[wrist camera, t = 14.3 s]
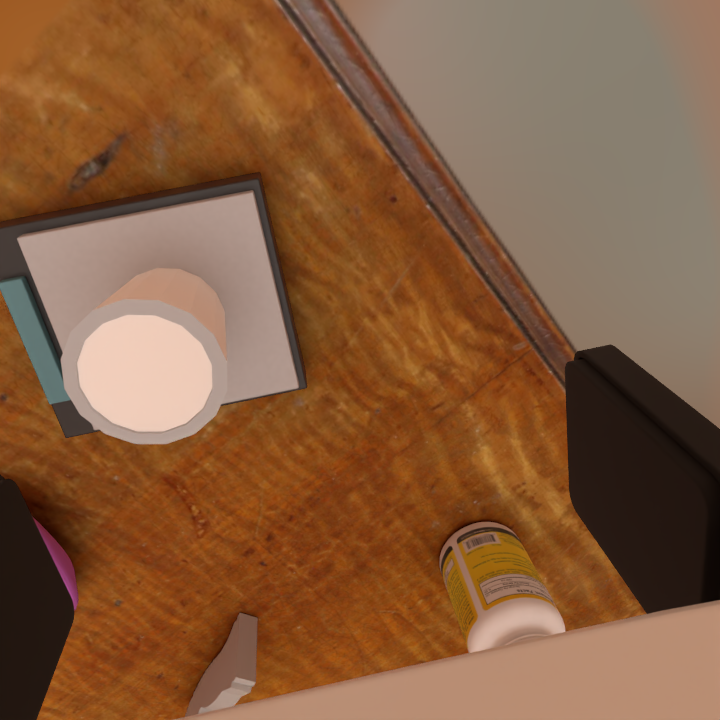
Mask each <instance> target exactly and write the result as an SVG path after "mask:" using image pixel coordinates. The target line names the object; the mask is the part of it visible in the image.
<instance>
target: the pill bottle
mask: <svg viewBox="0 0 720 720" xmlns="http://www.w3.org/2000/svg"><path fill="white" fill-rule="evenodd" d="M439 562H440V570H441V573H442V577H443V579H444V583H445V585H446V588H447V591H448V594H449V597H450V600H451V603H452V605H453V608H454V611H455V614H456V617H457V620H458V623H459V625H460V628H461V631H462V634H463V637H464V640H465V643H466V646H467V649H468V651H469V653H472V652H476V651H481V650H485V649H490V648H494V647H499V646H503V645H508V644H512V643H517V642H521V641H526V640H531V639H535V638H540V637H544V636H549V635H553V634H558V633H562V632H565V625H564V622H563V619H562V617H561V615H560V613H559V611H558V609H557V607H556V605H555V604H554V602H553V600H552V598H551V596H550V594H549V593H548V591H547V589H546V587H545V585H544V583H543V582H542V580H541V578H540V576H539V574H538V572H537V571H536V569H535V567H534V565H533V563H532V561H531V560H530V558H529V556H528V554H527V552H526V550H525V549H524V547H523V545H522V543H521V541H520V540H519V538H518V537H517V536H516V534H515V533H514V532H513V531H512V530H510V529H509V528H508V527H506V526H504V525H502V524H499V523H495V522H478V523H474V524H471V525H468V526H466V527H464V528H462V529H460V530H458V531H457V532H456V533H454V534H453V535H452V536H451V537H450V538H449V539H448V540H447V542H446V543H445V545H444V546H443V548H442V551H441V554H440V561H439Z"/></svg>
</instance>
